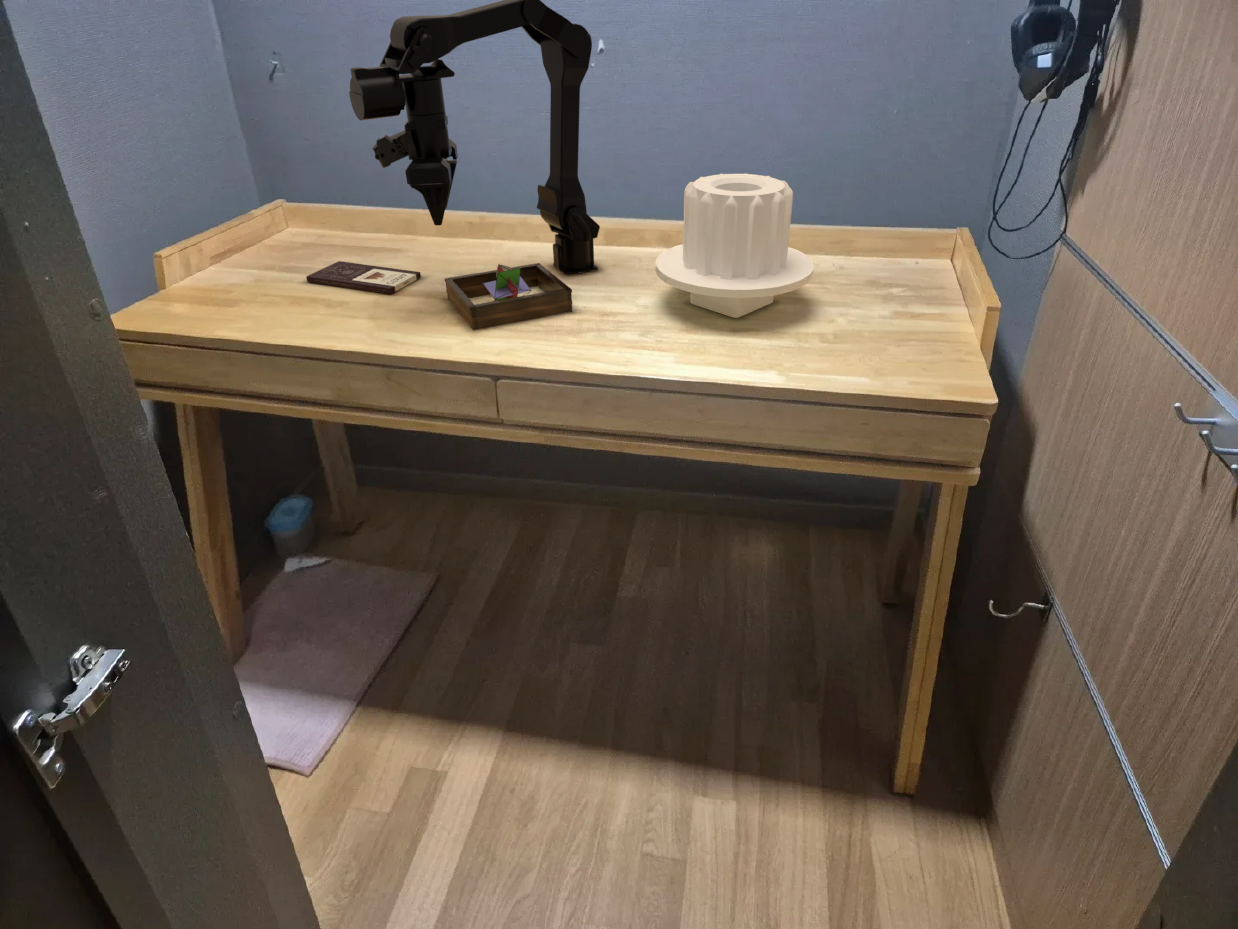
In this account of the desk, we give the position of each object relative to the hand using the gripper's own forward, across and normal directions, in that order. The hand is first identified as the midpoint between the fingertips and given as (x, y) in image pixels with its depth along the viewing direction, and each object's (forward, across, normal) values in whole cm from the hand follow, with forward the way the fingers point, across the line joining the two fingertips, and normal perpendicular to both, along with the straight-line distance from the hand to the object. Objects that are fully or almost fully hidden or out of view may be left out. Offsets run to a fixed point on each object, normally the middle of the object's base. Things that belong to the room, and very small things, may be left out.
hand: (440, 216), depth 130 cm
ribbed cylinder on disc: (+14, +9, +46) cm, 49 cm away
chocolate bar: (+14, -11, -16) cm, 24 cm away
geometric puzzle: (+14, +5, +10) cm, 18 cm away
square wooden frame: (+14, +5, +10) cm, 17 cm away
